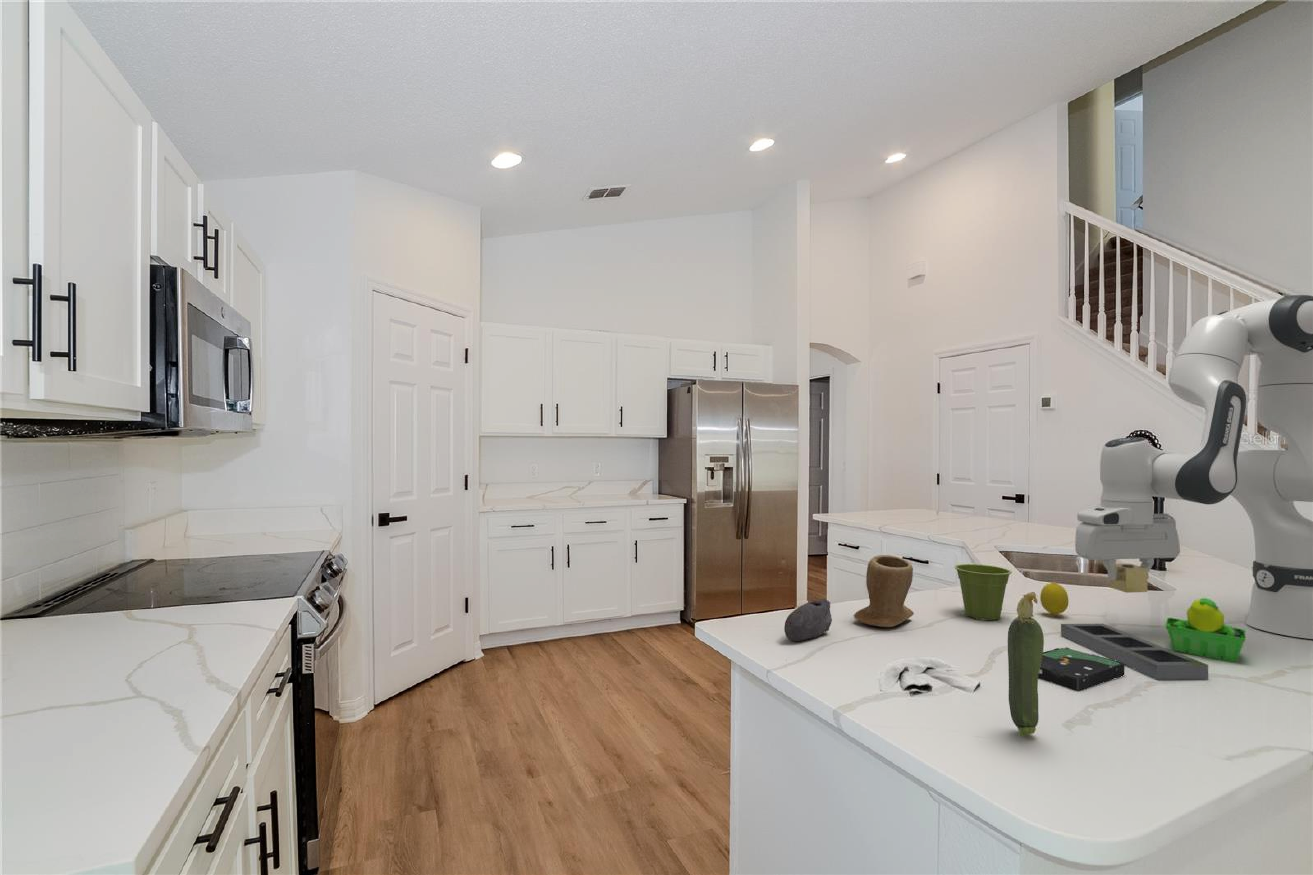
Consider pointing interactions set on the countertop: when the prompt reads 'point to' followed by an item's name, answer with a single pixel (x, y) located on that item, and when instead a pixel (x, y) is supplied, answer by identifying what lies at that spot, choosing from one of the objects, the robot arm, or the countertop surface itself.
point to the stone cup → (887, 591)
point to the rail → (1135, 652)
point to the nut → (1130, 578)
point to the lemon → (1054, 598)
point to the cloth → (937, 670)
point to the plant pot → (983, 589)
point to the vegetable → (1024, 666)
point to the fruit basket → (1205, 633)
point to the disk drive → (1078, 668)
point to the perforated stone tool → (808, 620)
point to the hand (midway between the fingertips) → (1128, 579)
